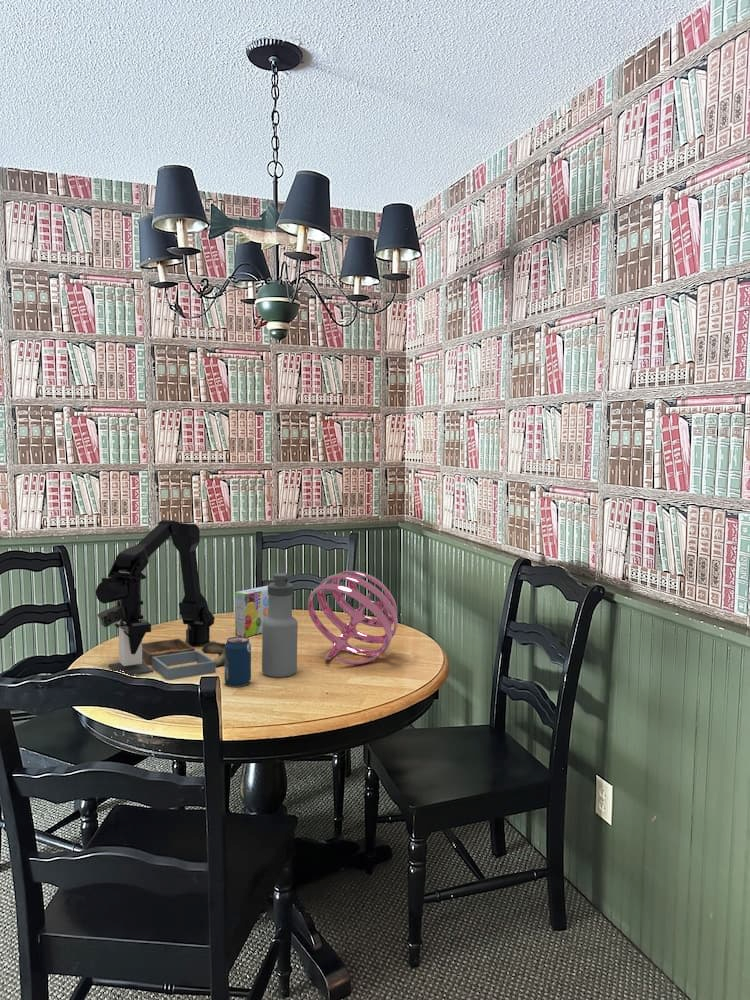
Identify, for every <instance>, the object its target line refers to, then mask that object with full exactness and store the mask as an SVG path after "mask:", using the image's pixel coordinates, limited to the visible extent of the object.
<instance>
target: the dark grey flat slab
mask: <svg viewBox="0 0 750 1000" xmlns="http://www.w3.org/2000/svg"><path fill="white" fill-rule="evenodd" d="M107 666H108V668H110V669H111V670H112V671H113V670H114V671H118V672H121V673H125V674H128V675H132V676H135V675H134V674H139V675H145V674H150V672H152V673H153V672H154V669H152V667H151V668H150V667H149V666H148V664H147V663H145V662H144V661H142V664H135V665H128V666H123V665H122V664H121V663H120V662H117V663H111V664H108V665H107ZM120 670H121V671H120ZM114 671H113V672H114ZM122 671H124V672H122ZM144 673H145V674H144Z"/></svg>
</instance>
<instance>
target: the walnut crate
mask: <svg viewBox="0 0 750 1000" xmlns="http://www.w3.org/2000/svg"><path fill="white" fill-rule="evenodd" d="M171 649H173V650H171ZM178 649H179V650H178ZM164 650H166V651H164ZM156 651H159V652H156ZM190 651H196V648H195V647H194V646H191V645H189V644H188V643H186V641H184V640H183V639H181V638H172V639H165V640H158V641H150V642H142V659H143V660H144V661H143V660H142V661H143V662H144V663H145V664H146V665H148V664H149V666H152V657H155V656H162V655H169V654H176V653H183V652H190ZM149 652H151V653H149Z"/></svg>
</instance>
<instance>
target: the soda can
mask: <svg viewBox="0 0 750 1000" xmlns="http://www.w3.org/2000/svg"><path fill="white" fill-rule="evenodd" d="M224 644H225V643H224ZM251 679H252V644H251V642H250V638H249V637H242V636H231V637H229V638H227V640H226V644H225V662H224V681H225V683H226V685H227V684H228V685H227V686H229V685H230V686H229V687H233V686H236V688H238V687H237V686H240V687H244V686H247V685H249V683H250V681H251Z"/></svg>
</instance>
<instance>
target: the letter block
mask: <svg viewBox="0 0 750 1000" xmlns="http://www.w3.org/2000/svg"><path fill="white" fill-rule="evenodd" d="M123 631H125V626H121V627H119V629H118V663H121V664H122V665H123V666H128V665H135V664H142V662H143V660H142V643H143V640H142V641H141V643H140V645H139V647H138V649H137V651H136V654H131V650H130V645H129V638H128V636H127V635H126V634H125V633H124V632H123Z"/></svg>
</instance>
